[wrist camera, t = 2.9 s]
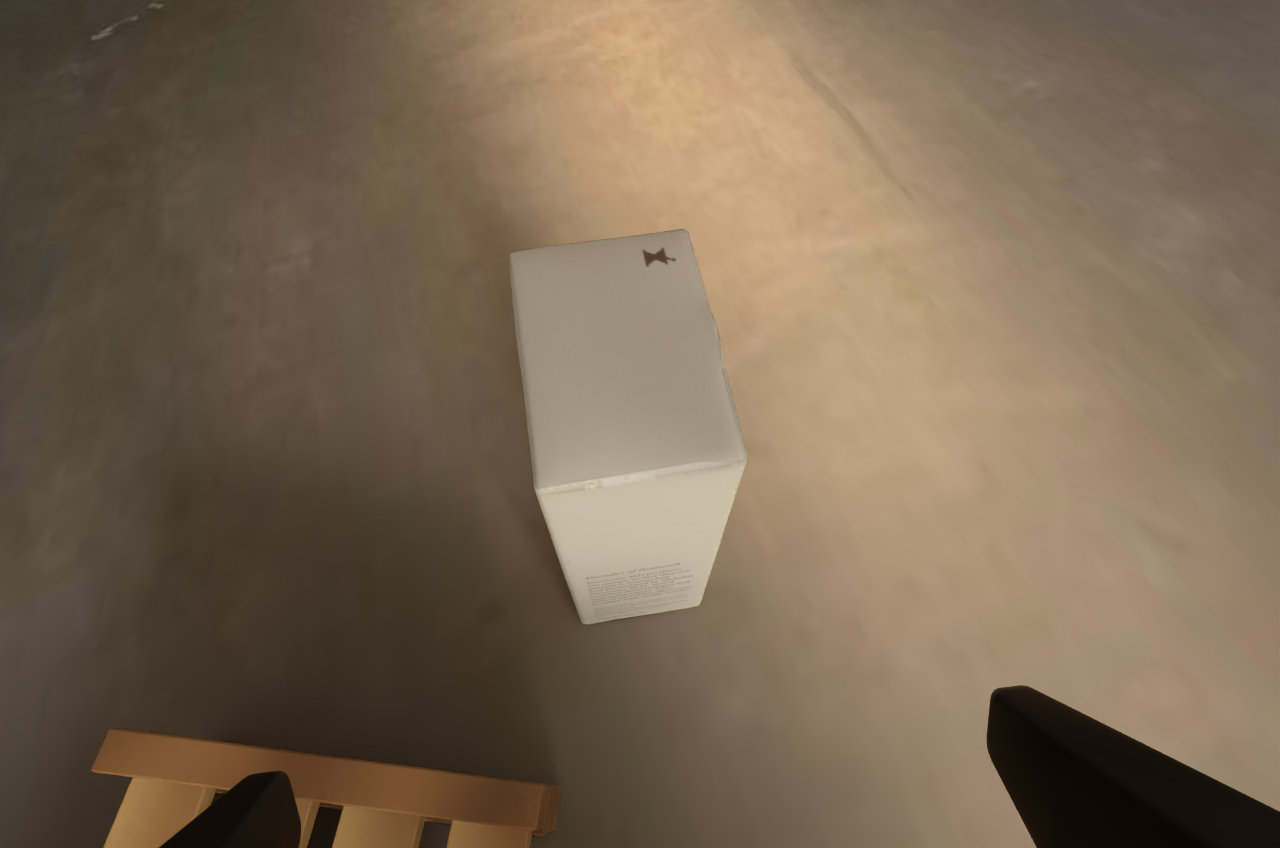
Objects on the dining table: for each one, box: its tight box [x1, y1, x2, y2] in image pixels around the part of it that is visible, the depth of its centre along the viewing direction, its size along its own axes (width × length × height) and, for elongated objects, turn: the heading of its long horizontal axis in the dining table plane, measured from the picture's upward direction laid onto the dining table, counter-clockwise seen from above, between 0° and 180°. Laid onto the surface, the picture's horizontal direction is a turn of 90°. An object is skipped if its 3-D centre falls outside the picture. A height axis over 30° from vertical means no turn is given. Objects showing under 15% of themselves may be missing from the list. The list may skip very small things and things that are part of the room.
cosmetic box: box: [509, 229, 747, 624], centre depth 19 cm, size 6×4×12 cm
